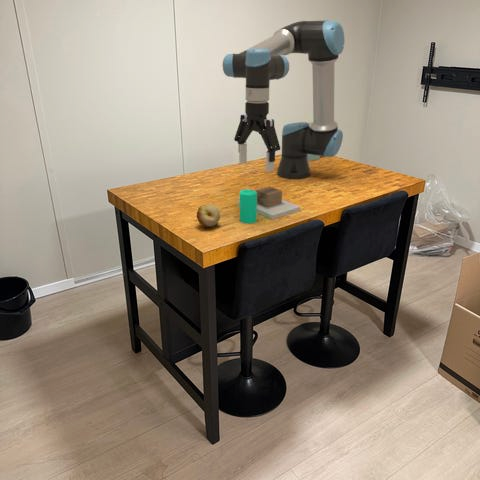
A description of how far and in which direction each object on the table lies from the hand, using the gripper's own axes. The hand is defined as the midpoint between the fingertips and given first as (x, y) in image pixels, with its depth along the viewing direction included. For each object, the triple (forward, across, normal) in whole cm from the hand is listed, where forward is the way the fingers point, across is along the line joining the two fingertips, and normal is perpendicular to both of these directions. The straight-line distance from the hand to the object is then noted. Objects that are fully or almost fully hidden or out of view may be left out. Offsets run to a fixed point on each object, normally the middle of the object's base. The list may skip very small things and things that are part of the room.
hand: (255, 167), depth 155 cm
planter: (+18, -45, +76) cm, 90 cm away
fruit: (+20, -6, -16) cm, 26 cm away
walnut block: (+17, -6, +12) cm, 22 cm away
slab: (+19, -6, +12) cm, 23 cm away
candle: (+19, -1, -2) cm, 19 cm away
